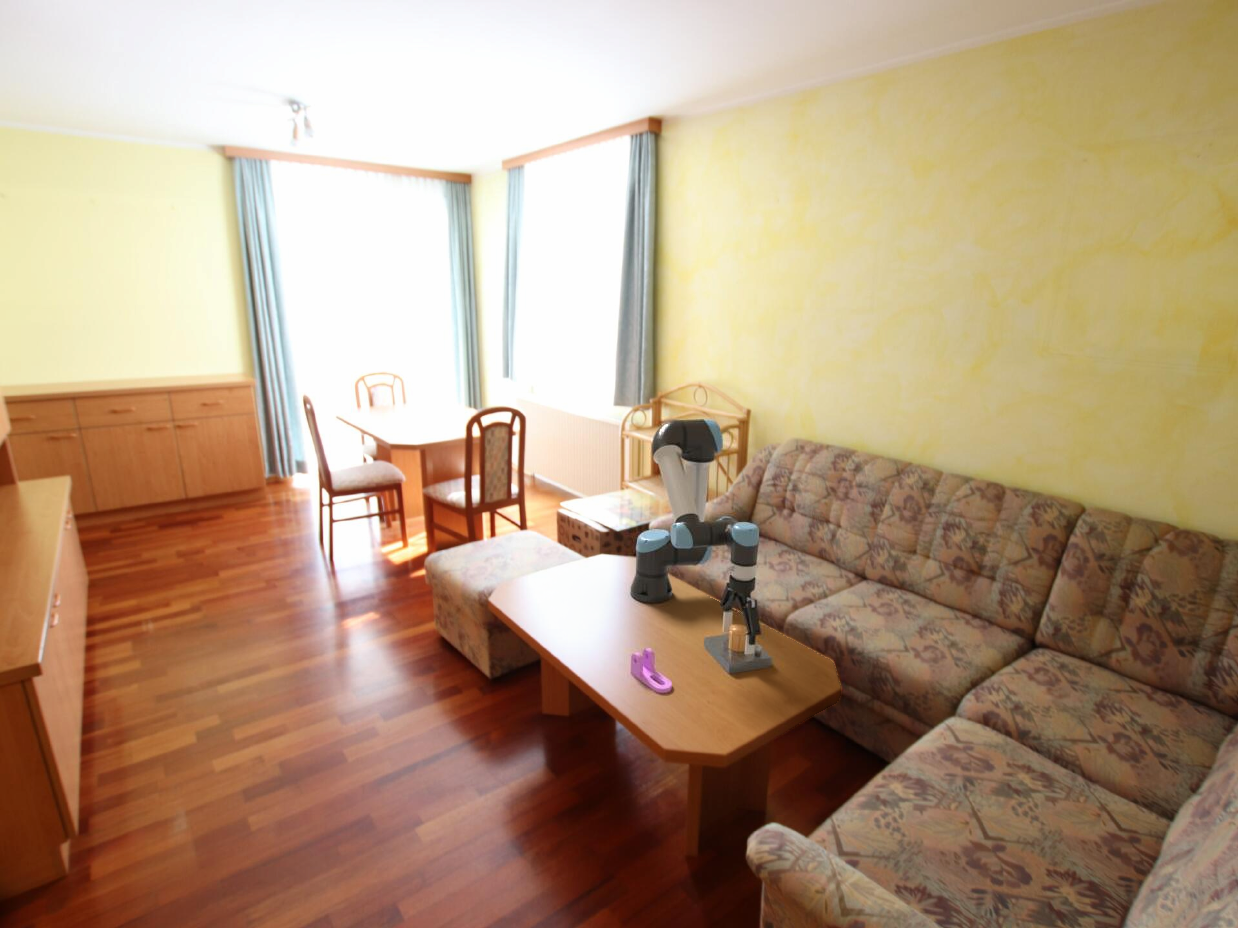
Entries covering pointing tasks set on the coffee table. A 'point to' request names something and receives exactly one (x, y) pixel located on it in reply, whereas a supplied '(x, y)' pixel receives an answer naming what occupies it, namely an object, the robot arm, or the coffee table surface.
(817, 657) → the coffee table surface
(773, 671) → the coffee table surface
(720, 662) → the block
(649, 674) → the bracket
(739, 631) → the orange faceted knob
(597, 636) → the coffee table surface
